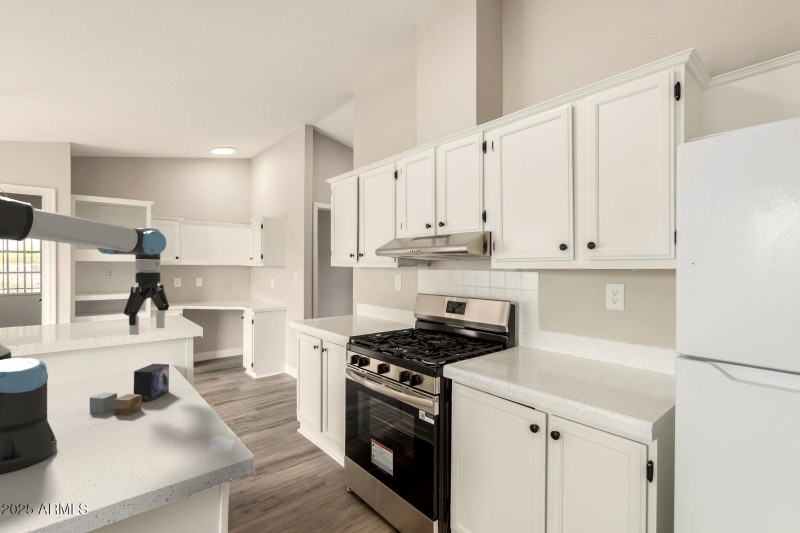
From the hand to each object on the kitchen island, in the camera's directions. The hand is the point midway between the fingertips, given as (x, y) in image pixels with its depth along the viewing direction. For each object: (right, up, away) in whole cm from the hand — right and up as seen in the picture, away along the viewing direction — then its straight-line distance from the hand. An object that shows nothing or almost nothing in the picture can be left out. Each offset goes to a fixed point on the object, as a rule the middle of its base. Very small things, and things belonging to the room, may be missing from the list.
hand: (147, 331), depth 139 cm
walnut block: (+4, -23, -15) cm, 28 cm away
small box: (+2, -23, -1) cm, 23 cm away
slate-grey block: (-5, -23, -14) cm, 28 cm away
